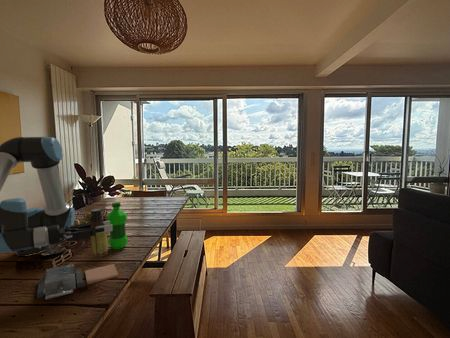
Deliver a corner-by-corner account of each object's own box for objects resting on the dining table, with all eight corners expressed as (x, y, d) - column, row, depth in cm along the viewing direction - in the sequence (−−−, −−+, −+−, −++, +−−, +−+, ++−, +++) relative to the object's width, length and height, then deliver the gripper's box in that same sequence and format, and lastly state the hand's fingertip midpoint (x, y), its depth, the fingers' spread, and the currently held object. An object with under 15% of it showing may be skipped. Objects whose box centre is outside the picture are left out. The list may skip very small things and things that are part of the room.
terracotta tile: (85, 272, 117) (84, 270, 117) (113, 265, 124) (113, 263, 123) (87, 284, 107) (87, 282, 107) (118, 276, 113) (118, 274, 113)
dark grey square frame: (40, 282, 110) (39, 270, 109) (81, 272, 117) (80, 261, 117) (35, 308, 92) (34, 294, 91) (84, 295, 99) (83, 282, 99)
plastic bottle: (132, 246, 148) (130, 202, 146) (116, 252, 139) (113, 206, 137) (120, 243, 153) (118, 200, 151) (104, 249, 144) (101, 204, 142)
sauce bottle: (110, 251, 117) (108, 207, 116) (104, 257, 111) (101, 211, 109) (95, 252, 117) (92, 208, 115) (88, 258, 111) (85, 211, 109)
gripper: (49, 238, 112) (108, 228, 124) (47, 253, 96) (115, 240, 108) (48, 221, 112) (107, 212, 124) (45, 232, 95) (114, 222, 107)
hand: (111, 225), depth 116 cm, fingers closed on sauce bottle, 6 cm apart
